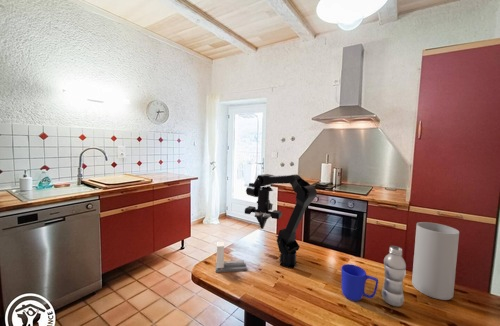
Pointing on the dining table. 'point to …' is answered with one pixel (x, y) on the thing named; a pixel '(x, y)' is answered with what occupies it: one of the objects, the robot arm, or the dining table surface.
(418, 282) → the cylinder vase
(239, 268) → the board
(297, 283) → the dining table surface
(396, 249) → the plastic bottle
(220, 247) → the white cardboard box
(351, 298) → the mug
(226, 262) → the light grey bar
